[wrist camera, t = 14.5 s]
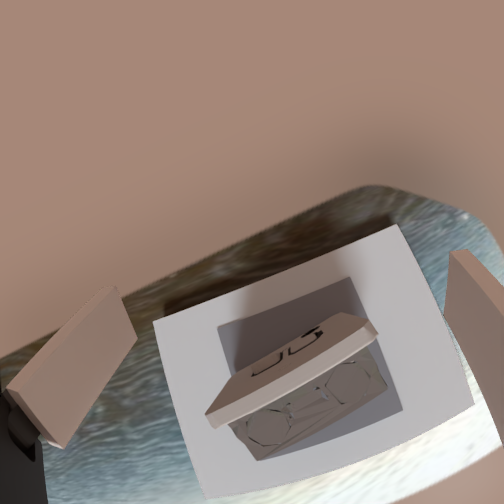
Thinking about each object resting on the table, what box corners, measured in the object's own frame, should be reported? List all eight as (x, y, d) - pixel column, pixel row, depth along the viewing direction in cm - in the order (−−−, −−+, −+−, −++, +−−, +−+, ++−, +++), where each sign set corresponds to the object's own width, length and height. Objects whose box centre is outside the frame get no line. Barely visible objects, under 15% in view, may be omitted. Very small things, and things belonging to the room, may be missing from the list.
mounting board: (214, 492, 22) (204, 499, 20) (163, 325, 28) (151, 321, 26) (465, 402, 19) (475, 404, 17) (393, 234, 26) (397, 222, 24)
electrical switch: (340, 311, 23) (353, 288, 14) (376, 369, 21) (410, 380, 13) (232, 375, 23) (182, 387, 15) (265, 432, 21) (234, 476, 13)
